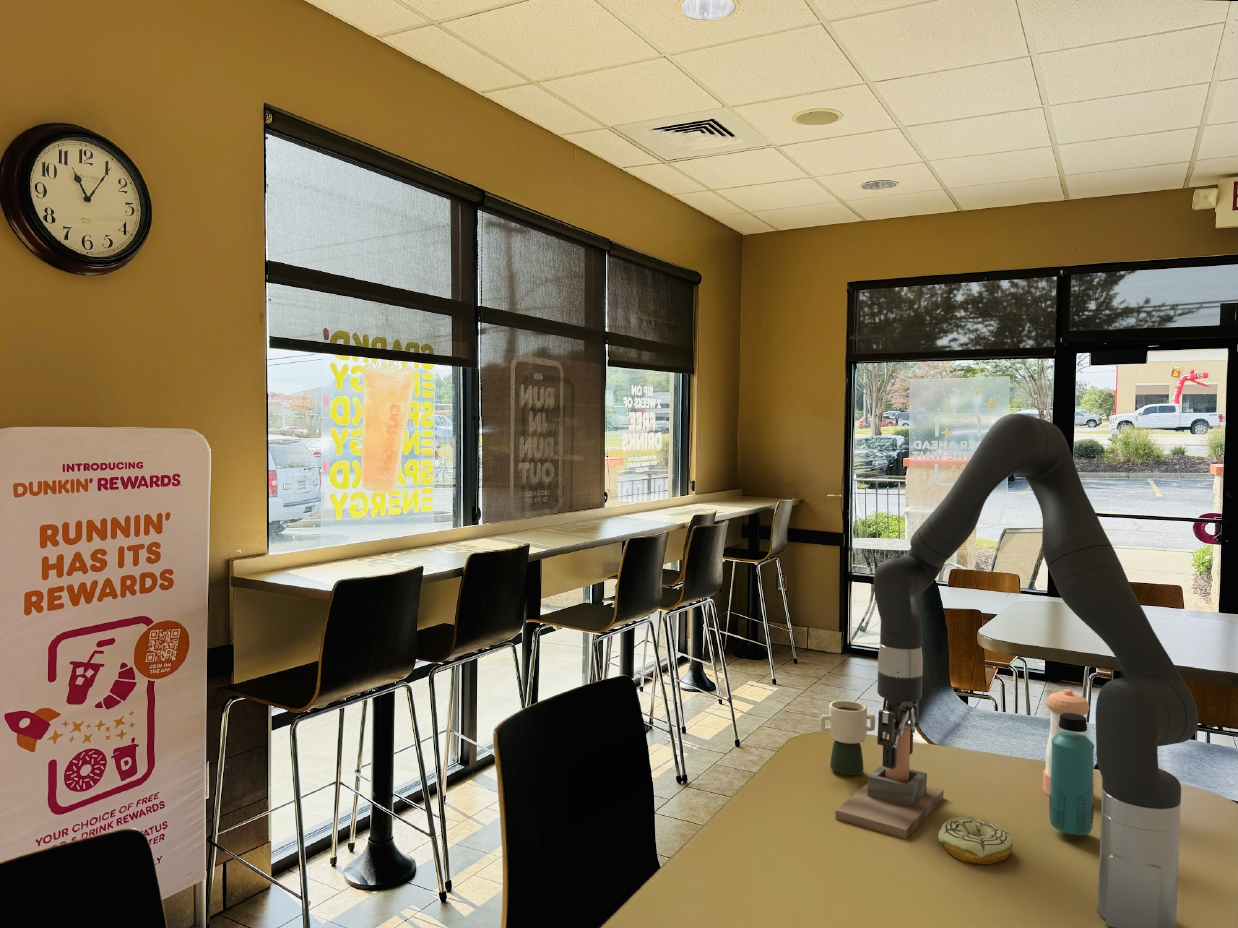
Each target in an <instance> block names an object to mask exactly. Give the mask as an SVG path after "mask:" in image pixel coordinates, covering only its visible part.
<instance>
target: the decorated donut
mask: <svg viewBox="0 0 1238 928" xmlns="http://www.w3.org/2000/svg"><path fill="white" fill-rule="evenodd" d="M938 841H939V842H940V843H942V845H943V847H944V849H945V850H946V851H947V852H948V853H949V855H950V856H952V857H954V858H956V859H957V860H959V861H961V862H964V863H970V864H978V865H985V864H986V865H992V864H995V863H999V862H1002V861H1005V860H1006V859H1008V857H1009V856H1010V854H1011V852H1012V850H1013V846H1014V844H1013V841H1014V840H1013V838H1012V836H1011V834H1010V833H1009V832H1008V831H1007V830H1006V829H1004V828H1002V827H1001V826H999V824H998V825H997V824H996V823H993V822H992V823H991V822H989V821H987V820H984V819H979V818H975V817H969V816H965V817H964V816H963V817H955V818H950V819H949V820H948V821H945V822H944V823H942V825H941V828H940V830H939V832H938Z"/></svg>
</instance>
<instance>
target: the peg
mask: <svg viewBox="0 0 1238 928" xmlns="http://www.w3.org/2000/svg"><path fill="white" fill-rule="evenodd" d="M894 729H895V728H894ZM887 739H889V734H888V736H887ZM910 756H911V755H910V728H909V727H908V726H905V727H904V731H903V735H902V736H901V737H899V739H898V743H897V760H896V767H895V768H894V769H890V768H886V776H885V778H888V779H892V780H896V781H900V782H904V783H909V769H910V763H911V761H910Z"/></svg>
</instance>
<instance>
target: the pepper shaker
mask: <svg viewBox="0 0 1238 928" xmlns="http://www.w3.org/2000/svg"><path fill="white" fill-rule="evenodd" d="M1045 702H1046V705H1047V708H1048V710H1049V711H1050V723H1049V724H1050V725H1049V735H1048V741H1047V745H1046V750H1045V768H1044V769H1043V774H1042V776H1043V777H1042V791H1043V792H1044V793H1045V794H1046V795H1048V796H1050V792H1051V786H1050V785H1051V782H1050V781H1051V779H1050V778H1051V759H1052V742H1051V741H1052V738H1053V737H1054V736H1055V735H1057V734H1058V733H1060V732H1073V731H1068V730H1064V729H1062V728H1060V727H1059V720H1060V714H1062V713H1076V714H1080V715H1082V716H1084V717H1085V716H1086V715H1087V714H1088V713H1089V711H1090V704H1089V701H1087V699H1086V698H1085V697H1084V696H1081V695H1080V694H1078V693H1074V692H1073V690H1071V689H1070V688H1069V689H1067V688H1066V689H1064V690H1062V691H1056V692H1053V693H1051V694H1049V695H1048V697H1047V698H1046V701H1045ZM1074 733H1079V734H1082V735H1084V736H1085V734H1084V733H1085V732H1074Z"/></svg>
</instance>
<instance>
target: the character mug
mask: <svg viewBox="0 0 1238 928" xmlns="http://www.w3.org/2000/svg"><path fill="white" fill-rule="evenodd" d="M828 705H829V706H828V714H823V715H820V718H819V730H820V732H822V733H829V736H830V739H833V740H834V742H833V744H832V751H831V756H830V762H829V763H830V766H829V768H830V769H831V770H833V771H834V772H837V773H839V774H842V775H847V776H857V775H859V774H862V773H863V771H864V769H865V768H864V760H863V751H862V746H861V743H863V742H865V740H866V738H867V735H868V734H867V733H868V732H873V731H875V729H876V715H875V714H873V713H868V707H867V705H866V704H864V703H861V702H858V701H854V700H844V699H841V700H840V699H839V700H838V699H837V700H833V701H831V702H830V703H829V704H828ZM868 720H869V723H870V724H869V725H868ZM826 721H828V726H826Z"/></svg>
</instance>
